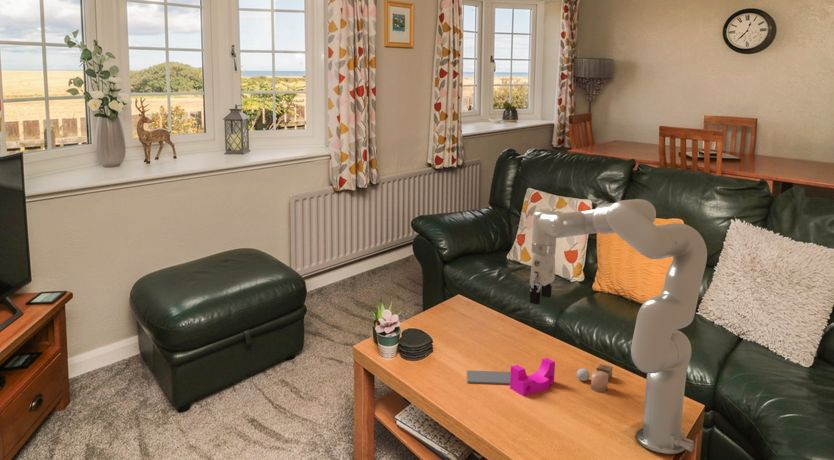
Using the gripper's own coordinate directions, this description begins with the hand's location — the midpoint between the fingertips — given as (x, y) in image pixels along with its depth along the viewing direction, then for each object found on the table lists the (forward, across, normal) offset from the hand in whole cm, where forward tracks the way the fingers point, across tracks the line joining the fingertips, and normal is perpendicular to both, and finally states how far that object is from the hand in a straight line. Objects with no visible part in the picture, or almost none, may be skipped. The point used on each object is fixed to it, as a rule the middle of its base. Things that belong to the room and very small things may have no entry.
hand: (540, 300), depth 188 cm
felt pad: (+26, -11, +10) cm, 30 cm away
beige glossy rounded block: (+26, +1, -21) cm, 33 cm away
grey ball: (+26, +4, -14) cm, 30 cm away
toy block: (+26, -10, -4) cm, 28 cm away
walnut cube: (+26, +10, -20) cm, 34 cm away
